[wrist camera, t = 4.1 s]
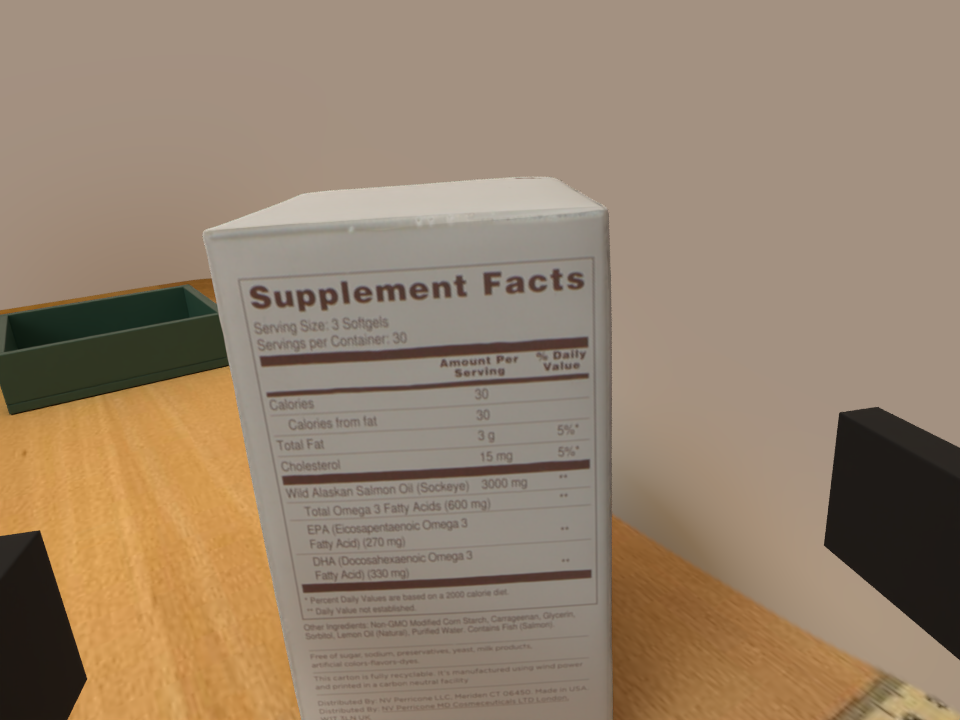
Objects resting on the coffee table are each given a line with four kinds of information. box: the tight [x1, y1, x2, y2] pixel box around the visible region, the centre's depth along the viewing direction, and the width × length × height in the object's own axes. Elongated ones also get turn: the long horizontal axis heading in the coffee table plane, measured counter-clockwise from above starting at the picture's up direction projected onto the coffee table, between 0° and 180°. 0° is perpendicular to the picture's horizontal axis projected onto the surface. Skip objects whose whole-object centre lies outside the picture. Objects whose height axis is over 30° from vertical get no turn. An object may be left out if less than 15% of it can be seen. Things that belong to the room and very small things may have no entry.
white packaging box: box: [203, 177, 613, 720], centre depth 17 cm, size 7×7×13 cm
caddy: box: [0, 285, 229, 414], centre depth 47 cm, size 13×13×4 cm
